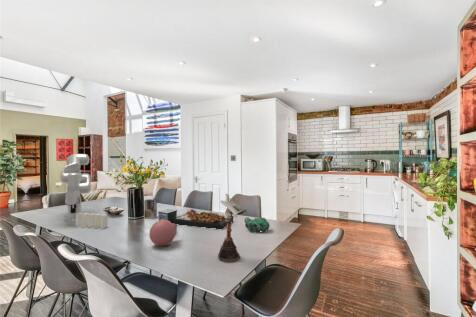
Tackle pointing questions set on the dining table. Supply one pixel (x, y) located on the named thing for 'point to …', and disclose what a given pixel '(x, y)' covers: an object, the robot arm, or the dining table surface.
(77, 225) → the domino
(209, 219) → the food platter
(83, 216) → the domino
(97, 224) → the domino
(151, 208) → the coffee box
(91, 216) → the domino
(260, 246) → the dining table surface
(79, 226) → the track board
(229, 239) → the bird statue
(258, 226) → the mineral
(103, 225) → the domino
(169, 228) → the dusty pink rubber ball
